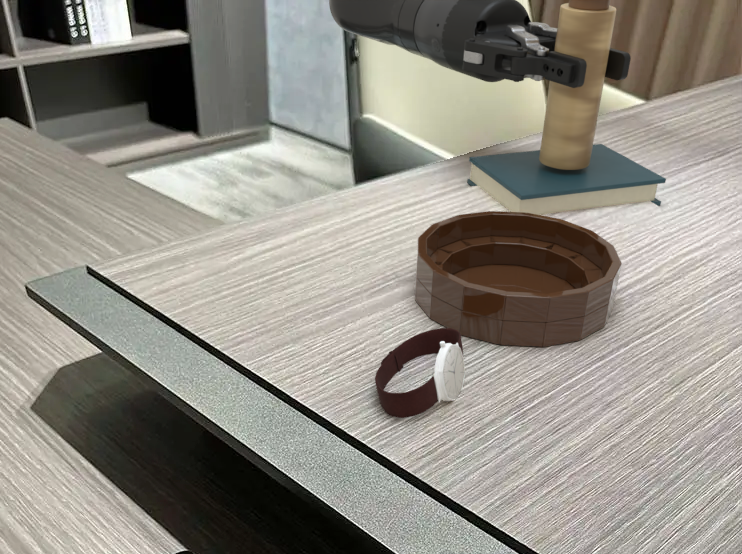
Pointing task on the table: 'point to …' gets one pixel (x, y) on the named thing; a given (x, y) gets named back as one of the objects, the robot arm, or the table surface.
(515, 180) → the book
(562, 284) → the bowl
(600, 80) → the pepper mill
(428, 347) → the watch
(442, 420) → the table surface
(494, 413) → the table surface
